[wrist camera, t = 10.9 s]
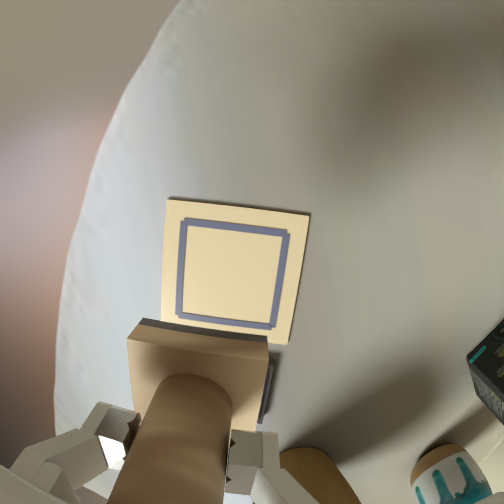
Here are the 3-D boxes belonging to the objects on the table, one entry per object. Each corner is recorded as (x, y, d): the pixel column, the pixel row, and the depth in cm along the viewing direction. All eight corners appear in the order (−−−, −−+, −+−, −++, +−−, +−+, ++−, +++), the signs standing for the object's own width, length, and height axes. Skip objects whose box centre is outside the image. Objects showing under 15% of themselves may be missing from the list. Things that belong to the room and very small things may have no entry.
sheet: (308, 215, 25) (309, 216, 25) (286, 343, 28) (287, 345, 27) (167, 199, 25) (166, 199, 25) (161, 326, 28) (160, 328, 27)
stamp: (267, 335, 12) (278, 558, 3) (251, 423, 13) (246, 593, 4) (143, 317, 11) (19, 488, 3) (148, 407, 13) (85, 558, 4)
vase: (470, 431, 32) (521, 508, 13) (434, 473, 34) (470, 548, 15) (428, 434, 31) (480, 529, 13) (390, 477, 34) (422, 567, 15)
